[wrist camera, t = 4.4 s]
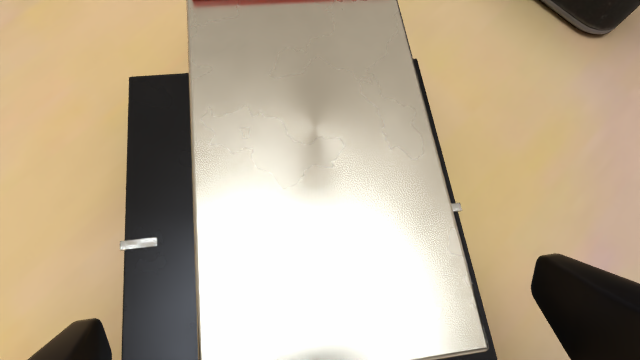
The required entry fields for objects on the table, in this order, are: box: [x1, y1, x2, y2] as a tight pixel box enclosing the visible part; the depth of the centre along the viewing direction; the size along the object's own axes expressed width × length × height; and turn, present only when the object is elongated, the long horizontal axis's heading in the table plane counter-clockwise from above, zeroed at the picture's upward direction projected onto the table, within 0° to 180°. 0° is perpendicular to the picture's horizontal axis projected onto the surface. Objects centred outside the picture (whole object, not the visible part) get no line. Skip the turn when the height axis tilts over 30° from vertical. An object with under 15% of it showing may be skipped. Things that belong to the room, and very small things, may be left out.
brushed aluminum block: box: [186, 0, 489, 360], centre depth 13 cm, size 10×5×9 cm, turn 8°
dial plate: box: [120, 59, 497, 360], centre depth 18 cm, size 16×14×3 cm
